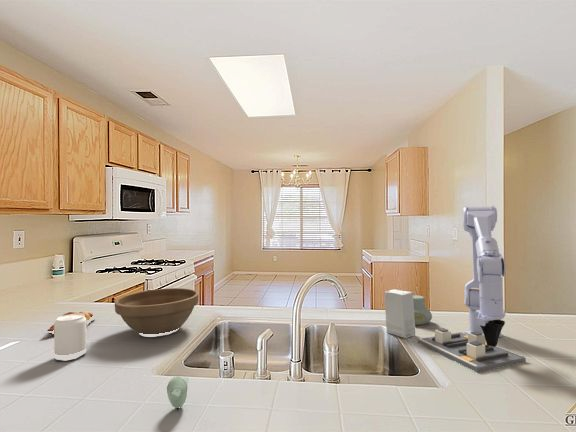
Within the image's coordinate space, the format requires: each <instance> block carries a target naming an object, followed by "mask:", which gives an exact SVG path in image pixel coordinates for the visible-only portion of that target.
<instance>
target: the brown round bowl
mask: <svg viewBox="0 0 576 432" xmlns="http://www.w3.org/2000/svg"><path fill="white" fill-rule="evenodd" d="M198 303H199V292H198V291H197V290H195V289H190V288H178V287H176V288H175V287H173V288H172V287H171V288H169V287H168V288H159V289H158V288H157V289H155V288H154V289H148V290H143V291H136V292H133V293H129V294H125V295H123V296H121V297H118V298H116V299H115V301H114V312H115V313H116V314H117V315H118V316H120V317H121V318H122V320H123V322H124V323H125V324H126V325H127V326H128V327H129V328H130V329H131V330H132V331H133V332H135V333H136V332H138V333H143V334H159V333H165V332H170V331H173V330H176V329H178V328H182V326H183V325H184V324H185V323H186V322H187V320H188V318H189V317H190V316H191V315H192V313H193V310H194V308H195V306H197V305H198ZM138 333H137V334H138Z"/></svg>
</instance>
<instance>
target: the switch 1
mask: <svg viewBox="0 0 576 432" xmlns="http://www.w3.org/2000/svg"><path fill="white" fill-rule="evenodd" d="M451 334H452V331H450V330H449V329H447V328H444V327H443V328H442V327H441V328H437V329H434V336H435V341H436V342H438V343H441V344H443V343H444V342H449V341H451Z"/></svg>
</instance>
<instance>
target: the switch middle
mask: <svg viewBox="0 0 576 432" xmlns="http://www.w3.org/2000/svg"><path fill="white" fill-rule="evenodd" d="M473 341H477V342H479V343H482V344H483V345H485V341H486V340H485V336H484V334H482V333H480V332H477V331H475V332H471V333H468V343H469V342H473Z"/></svg>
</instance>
